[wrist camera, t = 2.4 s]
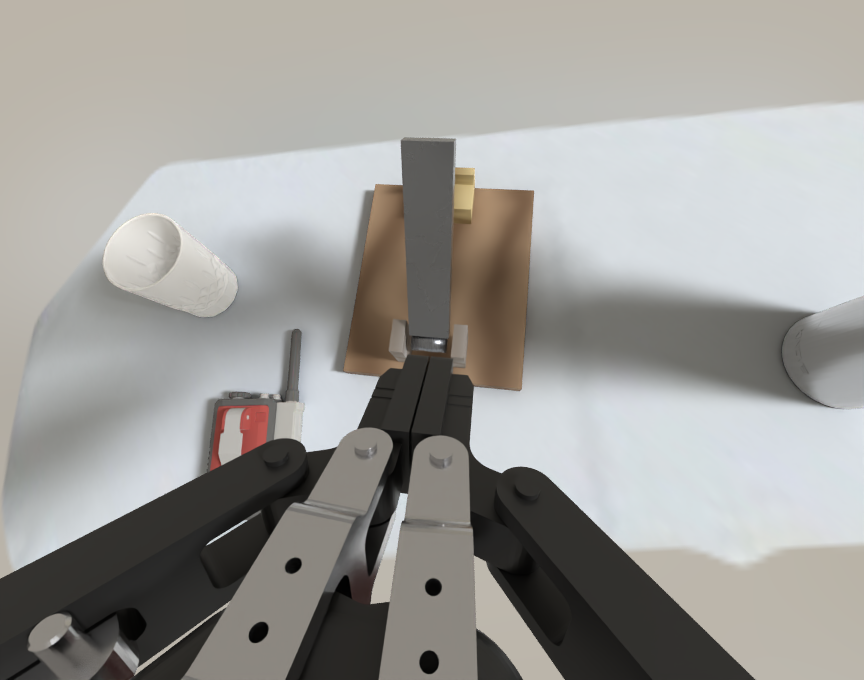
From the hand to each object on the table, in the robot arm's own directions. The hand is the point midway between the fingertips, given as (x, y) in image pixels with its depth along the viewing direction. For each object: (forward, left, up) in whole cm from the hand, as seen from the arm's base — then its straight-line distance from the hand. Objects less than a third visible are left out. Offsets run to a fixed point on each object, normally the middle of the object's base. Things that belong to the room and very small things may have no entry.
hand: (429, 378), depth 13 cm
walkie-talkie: (+20, +3, -28) cm, 35 cm away
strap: (+3, -12, -17) cm, 21 cm away
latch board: (+3, -15, -27) cm, 31 cm away
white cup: (+30, -12, -28) cm, 43 cm away
